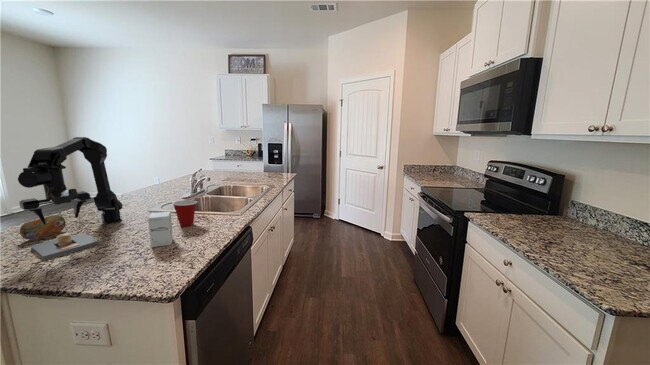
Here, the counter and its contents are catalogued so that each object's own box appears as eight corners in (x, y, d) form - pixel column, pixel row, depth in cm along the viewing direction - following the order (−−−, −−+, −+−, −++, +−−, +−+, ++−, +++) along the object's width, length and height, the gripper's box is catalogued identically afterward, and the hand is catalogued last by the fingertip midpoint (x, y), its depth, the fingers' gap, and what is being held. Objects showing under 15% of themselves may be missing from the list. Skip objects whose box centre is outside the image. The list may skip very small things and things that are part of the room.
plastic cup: (203, 221, 137) (201, 199, 135) (190, 229, 126) (188, 205, 124) (183, 220, 138) (181, 198, 136) (169, 228, 127) (167, 204, 125)
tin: (26, 243, 109) (21, 223, 107) (20, 242, 110) (16, 223, 108) (67, 230, 123) (64, 212, 122) (62, 229, 124) (59, 212, 122)
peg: (70, 244, 109) (68, 232, 108) (74, 246, 107) (72, 234, 106) (57, 247, 105) (55, 235, 104) (60, 250, 103) (58, 238, 102)
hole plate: (83, 236, 117) (83, 232, 117) (98, 244, 109) (98, 240, 108) (31, 249, 103) (30, 245, 103) (43, 260, 95) (42, 255, 95)
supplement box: (150, 248, 106) (146, 218, 104) (154, 241, 113) (150, 212, 110) (171, 245, 109) (168, 216, 107) (173, 238, 116) (170, 210, 113)
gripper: (23, 189, 89) (32, 232, 92) (92, 180, 105) (99, 218, 108) (15, 185, 95) (24, 226, 98) (82, 177, 110) (88, 213, 113)
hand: (61, 220), depth 104 cm, fingers open, 9 cm apart
